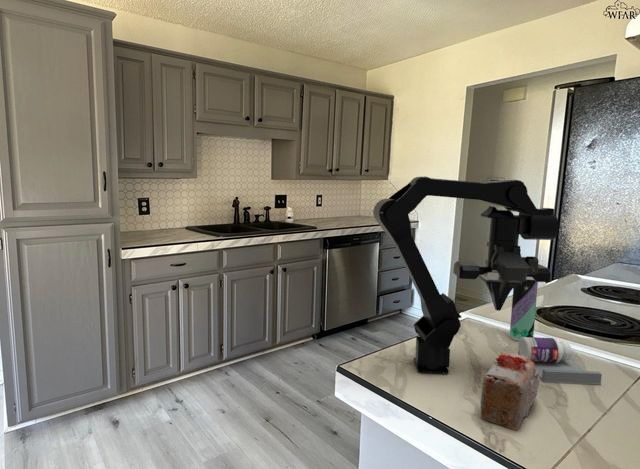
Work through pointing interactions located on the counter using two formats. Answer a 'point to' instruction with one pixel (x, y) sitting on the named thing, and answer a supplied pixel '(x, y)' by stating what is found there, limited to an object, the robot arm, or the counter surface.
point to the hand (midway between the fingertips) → (497, 310)
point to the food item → (509, 390)
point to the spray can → (523, 309)
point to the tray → (566, 373)
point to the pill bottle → (544, 349)
